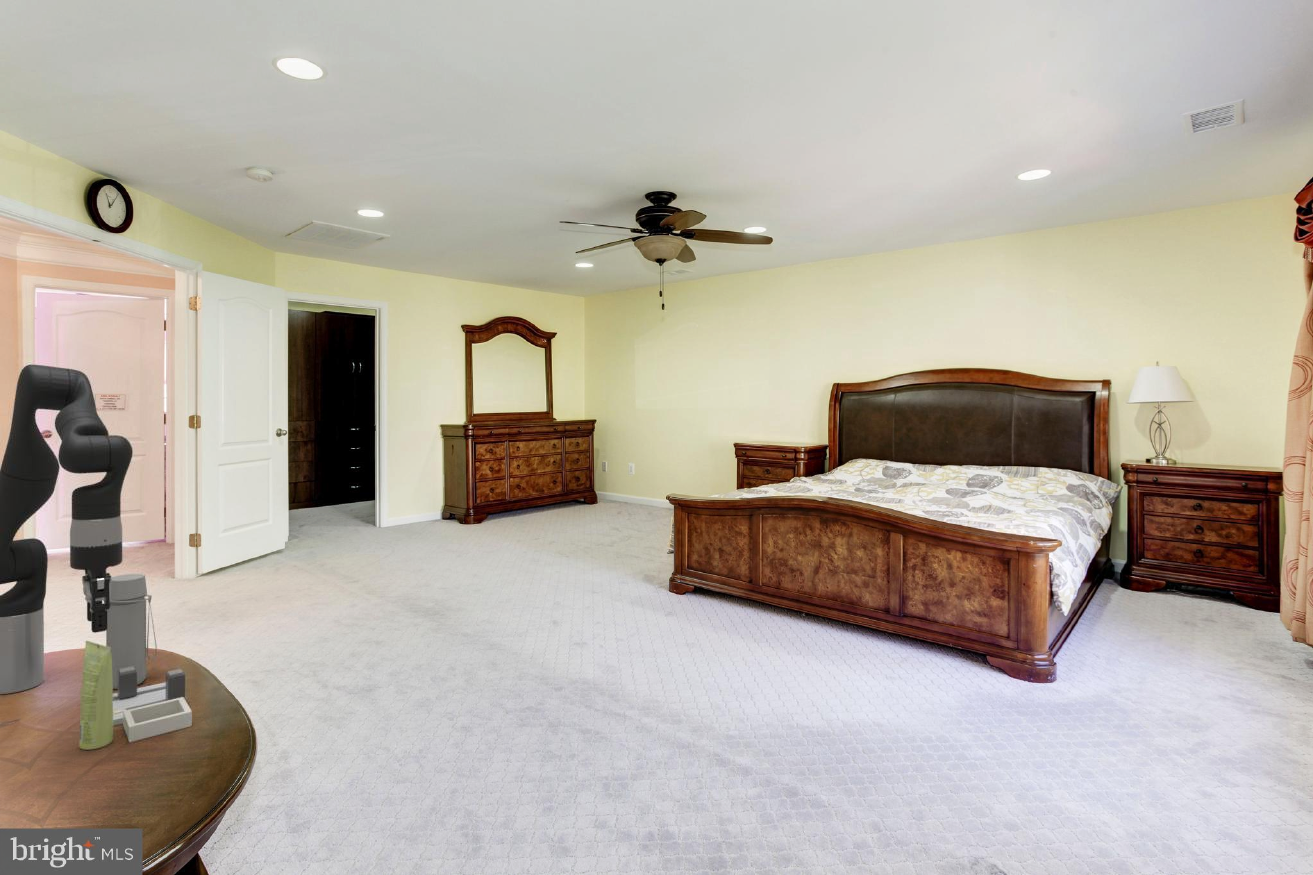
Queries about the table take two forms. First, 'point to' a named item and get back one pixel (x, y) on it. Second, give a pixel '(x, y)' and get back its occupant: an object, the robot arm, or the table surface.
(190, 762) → the table surface
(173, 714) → the frame
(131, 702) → the breaker panel
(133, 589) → the water bottle
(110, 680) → the tube
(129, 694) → the block
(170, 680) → the block
